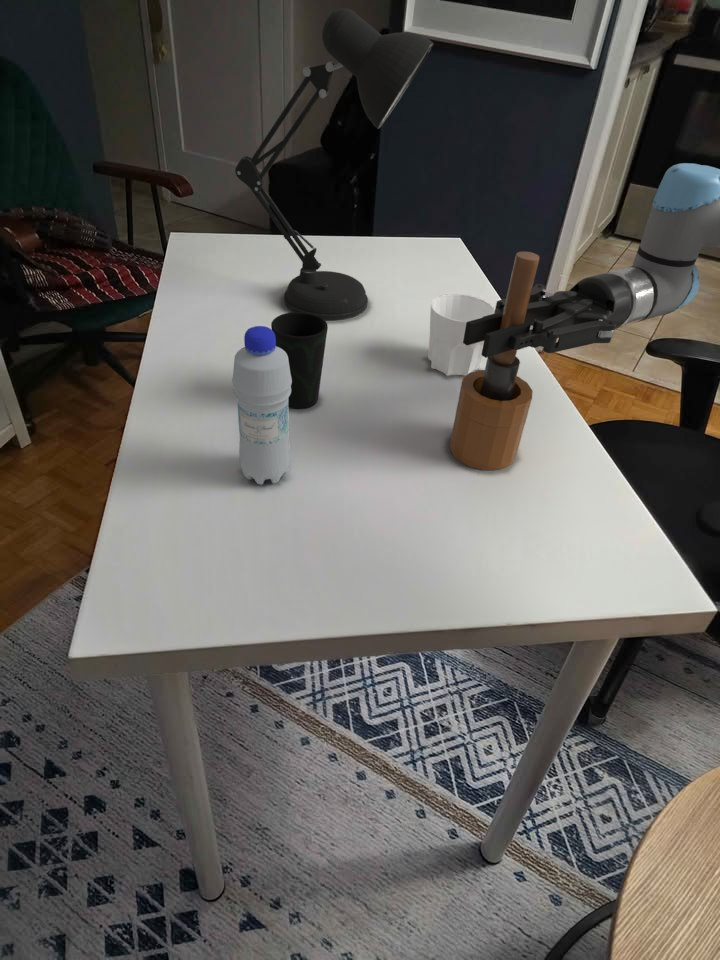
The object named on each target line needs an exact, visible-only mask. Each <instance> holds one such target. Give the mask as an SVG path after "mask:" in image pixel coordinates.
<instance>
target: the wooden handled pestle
mask: <svg viewBox="0 0 720 960" xmlns="http://www.w3.org/2000/svg"><path fill="white" fill-rule="evenodd" d="M539 263H540V255H539V254H537V253H534V252H531V251H523V250H522V251H518V252H516V254H515V257H514V262H513V266H512V270H511V276H510V280H509V284H508V289H507V292H506V297H505V298H506V302H505V307H504V311H503V316H502V320H501V325H500V330H501V329H504V328H508V327H511V326H515V325H518V324H522V323H524V320H525V316H526V312H527V307H528V303H529V299H530V295H531V291H532V288H533V287H534V283H535V278H536V274H537V271H538V266H539ZM517 352H518V350H510V351H506V352H503V353H500V354H497V355H493V356H490V357H487V358H486V362H485V368H484V370H485V372H484V376H483V381H482V386H481V390H480V395H482V396H484V397H486V398H489V399H492V400H498V401H510V400H511V396H512V393H513V389H514V385H515V381H516V377H517V376H518V372H519V368H520V365H521V361H520V358H519V357H517Z"/></svg>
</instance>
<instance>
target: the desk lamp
mask: <svg viewBox="0 0 720 960" xmlns="http://www.w3.org/2000/svg"><path fill="white" fill-rule="evenodd" d="M321 40H322V43H323V47H324V49H325V50H326V52H327V53H328V54H329V55H330V56H331V57H332V58H333V59H335V60H336V61H337V62H338V63H335V62H334V61H331V60H330V61H329V62H326V63H324V64H320V65H315V66H310V65H308V66H305V67H304V68H303V69H302V75H303V76H304V78H303V80H302V81H301V83H300V84H299V86H298V88H297V89H296V90H295V92H294V94H293V95H292V96H291V98H290V99H289V101H288V103H287V104H286V106H285V108H283V111H282V112H280V115H279V116H278V118H277V119H276V121H275V122H274V123H273V125H272V127H271V128H270V129H269V132H268V133H267V134H266V135H265V138H264V139H263V140H262V142H261V143H260V145H259V147H258V148H257V149H256V151H255V152H254V154H253V156H248V155H247V156H243V157H241V159H240V160H239V161H238V163H237V164H236V166H235V170H234V171H235V175H236V177H237V178H238V179H239V180H240V181H241V182H242V183H243V184H244V185H246V186H247V187H248V188H249V189H250V190H251V192H252V193H253V194H254V196H255V197H256V199H257V200H258V201H259V203H260V204H261V206H262V208H263V209H264V210H265V211H266V213H267V214H268V215H269V217H270V219H271V220H272V222H274V224H275V225H276V227H277V228H278V230H279V231H280V232H281V234H282V236H283V238H284V239H285V240H286V241H287V242H288V244H289V245H290V247H291V248H292V250H293V251H294V253H295V254H296V255H297V257H298V259H300V261H301V266H302V267H301V268H300V270H299V275H297V276H295V277H293V278H292V279H291V280H290V282H289V283H288V285H287V288H286V290H285V292H284V299H283V300H284V301H283V302H284V304H285V306H286V307H287V309H288V310H289V311H290V312H306V313H311V314H314V315H317V316H319V317H321V318H323V319H324V320H325V321H343V320H348V319H352V318H355V317H357V316H359V315H361V314H363V313H364V312H365V311H366V310H367V308H368V305H369V302H368V301H369V299H368V298H369V297H368V295H367V293H366V289H365V287H364V285H363V283H362V282H361V281H360V280H358V279H356V278H355V277H353V276H351V275H348V274H345V273H342V272H337V271H328V270H319V269H320V268H321V267H322V263H321V262H319V261H318V259H317V258H316V257H315V256H316V253H317V249H318V248H317V247H315V246H314V245H313V244H311V242H309V241H308V240H307V239H306V237H304V236H303V235H302V234H300V232H299V231H297V230H295V229H293V228H292V226H291V225H290V223H289V221H288V220H287V219H286V217H285V216H284V214H283V213H282V212H281V211H280V209H279V208H278V206H277V205H276V203H275V201H273V199H272V198H271V196H270V194H269V193H268V192H267V190H266V189H265V187H264V180H263V179H264V178H265V176H266V175H267V173H268V172H269V171H270V169H271V168H272V166H273V165H274V163H275V162H276V161H277V159H278V158H279V156H280V155H281V153H282V152H283V150H284V149H285V147H286V146H287V145H288V143H289V142H290V140H291V139H292V137H293V136H294V135H295V133H296V132H297V130H298V129H299V127H300V126H301V125H302V123H303V121H304V120H305V119H306V117H307V116H308V114H309V113H310V112H311V110H312V109H313V107H314V106H315V104H316V102H317V101H318V99H319V98H321V99H325V98H326V97H328V96H329V88H330V85H331V80H332V77H333V74H334V73H333V72H334V71H336V70H338V69H341V68H343V67H344V68H345V69H346V70H347V71H348V72H349V73H351V74H352V75H353V76H354V77H355V78H356V79H355V80H356V84H357V91H358V95H359V99H360V103H361V107H362V109H363V110H364V113H365V115H366V116H367V118H368V120H369V121H370V122H371V123H372V125H373V126H374V127H375V128H376V129H377V130H380V128H381V127H383V124H384V123H385V122H386V120H387V119H388V118H389V117H390V115H391V113H392V112H393V111H394V109H395V108H396V106H397V104H398V103H399V102H400V100H401V99H402V97H403V96H404V94H405V92H406V91H407V89H408V87H409V86H410V85H411V83H412V81H413V80H414V78H415V77H416V75H417V73H418V72H419V70H420V69H421V67H422V65H423V64H424V62H425V60H426V59H427V58H428V55H429V54H430V52H431V50H432V48H433V46H434V42H433V41H432V40H430V39H429V38H427V37H425V36H423V35H421V34H418V33H414V32H408V31H406V32H393V33H387V34H386V33H385V34H381V33H380V32H379V31H377V30H376V28H374V27H373V26H372V25H370V24H369V23H368V22H366V21H365V20H364V19H363V18H362V17H361V16H359V15H358V14H357V13H356V12H355V11H353V10H352V9H349V8H346V7H344V8H343V7H342V8H337V9H335V10H333V11H332V12H331V13H330V14H328V16H327V18H326V19H325V21H324V24H323V27H322V31H321ZM309 83H311V84H312V85H313V87H314V88H315V89H316V91H315V92H314V94H313V96H312V97H311V98H310V100H309V102H308V103H307V104H306V105H305V107H304V108H303V110H302V111H301V113H300V114H299V116H298V117H297V119H296V120H295V122H293V123H294V124H293V125H292V126H291V127H290V129H289V131H288V132H287V134H286V135H285V137H284V138H283V139H282V140H281V141H280V142H278V143H277V144H276V145H274V146H273V147H272V148H270V149H268V151H266V152H265V153H263V152H264V151H265V149H266V147H267V146H268V144H269V143H270V141H271V140H272V139H273V137H274V136H275V134H276V133H277V131H278V129H279V128H280V126H281V125H282V123H283V122H284V121H285V119H286V118H287V116H288V114H289V113H290V112H291V110H292V108H294V105H295V104H296V102H297V101H298V100H299V98H300V97H301V95H302V93H303V92H304V90H305V89H306V87H307V86H308V84H309ZM271 155H272V156H271ZM270 156H271V157H270ZM269 157H270V159H269V160H268V162H266V165H265V166H264V167H263V169H262V170H261V171H259V169H258V167H257V166H258V165H260V163H262V162H263V161H264V160H266V159H267V158H269ZM302 241H304V243H306V245H308V246H309V247H310V248H311V250H310V251H309V250H308V249H307V247H306V246H305V245H304V243H303V242H302Z"/></svg>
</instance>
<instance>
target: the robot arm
mask: <svg viewBox="0 0 720 960" xmlns="http://www.w3.org/2000/svg"><path fill="white" fill-rule="evenodd" d="M638 245H639V246H638V247H637V248H638V249H637V251H636V253H635V256H634V260H633V262H632V265H630V266H627V267H623V268H619V269H615V270H610V271H606V272H603V273H600V274H596V275H592V276H587V277H584V278H582V279H581V280H578V282H577V283H575V284H574V286H573V287H571V288H570V289H569V290H558V291H555V292H554V293H551V292H548V291H547V290H546V289H545V288H546V286H545V285H544V284H541V283H537V284H535V285H533V287H532V291H531V295H530V299H529V303H528V307H527V312H526V316H525V320H524V323H522V324H518V325H515V326H511V327H508V328H504V329H501V330H500V325H501V320H502V316H503V311H504V307H505V302H506V298H507V297H505V298H502V299H499V300H496V304H495V307H494V309H495V312H494V314H491V315H487V316H484V317H482V318H480V319H476V320H472V321H468V322H467V323H466V328H465V334H464V339H463V343H464V344H465V345H471V344H474V343H478V342H481V341H484V345H483V349H482V354H481V355H482V357H484V358H485V359H487V358H488V357H490V356H493V355H497V354H500V353H503V352H506V351H510V350H517V351H519V350H523V349H526V348H529V347H531V348H536V349H537V348H539V347H541V348H543V349H542V351H543V352H544V353H546V354H553V353H558V352H562V351H567V350H571V349H576V348H580V347H583V346H589V345H594V344H610V343H611V342H612V338H613V336H614V334H615V333H614V332H615V330H617V329H620V328H624V327H626V326H630V325H633V324H636V323H640V322H643V321H646V320H650V319H653V318H657V317H662V316H666V315H669V314H672V313H673V312H675V311H676V310H679V309H681V308H683V307H685V306H687V305H688V304H689V303H691V302H692V301H693V299H694V298H695V297H696V295H697V294H698V292H699V289H700V271H699V269H698V267H697V265H696V262H697V259H698V258H699V254H700V253H701V251H702V248H710V249H720V168H717V167H714V166H710V165H705V164H704V165H703V164H702V165H701V164H698V163H691V162H690V163H688V162H683V163H677V164H674V165H672V166H670V167H669V168H668V169H667V170H666V171H665V173H664V175H663V177H662V179H661V182H660V183H659V185H658V189H657V190H656V193H655V196H654V198H653V201H652V206H651V209H650V212H649V215H648V218H647V221H646V225H645V227H644V231H643V234H642V238H641V241H640V243H639V244H638ZM531 326H532V328H531ZM557 339H558V340H557Z"/></svg>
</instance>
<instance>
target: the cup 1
mask: <svg viewBox="0 0 720 960" xmlns="http://www.w3.org/2000/svg"><path fill="white" fill-rule="evenodd" d="M270 327H271V328H270V329H271V330H272V331H273V332H274V334H275V338H276V347H279V348H281V349H282V350H284V351H285V352H286V354H287V356H288V360H289V367H290V374H291V378H292V383H291V394H290V396H289V397H288V408H290V409H292V410H293V409H294V410H306V409H309V408H312V407H314V406H315V405H317V403H318V401H319V394H320V388H321V380H322V373H323V367H324V366H323V365H324V359H325V358H324V357H325V350H326V342H327V337H328V328H329V326H328V323H327V320H324V319H323V318H321V317H319V316H317V315H314V314H311V313H306V312H293V311H290V312H286V313H282V314H279V315H278V316H275V318H274V319H272V321H271V326H270Z"/></svg>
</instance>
